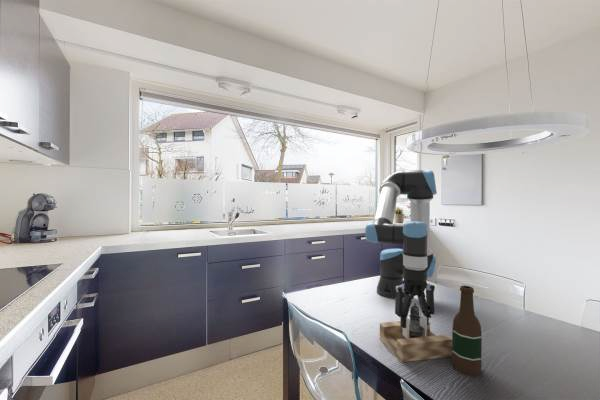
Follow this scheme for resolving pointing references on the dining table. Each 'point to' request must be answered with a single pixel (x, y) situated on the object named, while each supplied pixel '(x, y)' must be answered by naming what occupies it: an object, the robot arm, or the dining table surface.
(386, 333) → the well block
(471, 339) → the beer bottle
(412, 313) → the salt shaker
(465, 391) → the dining table surface
